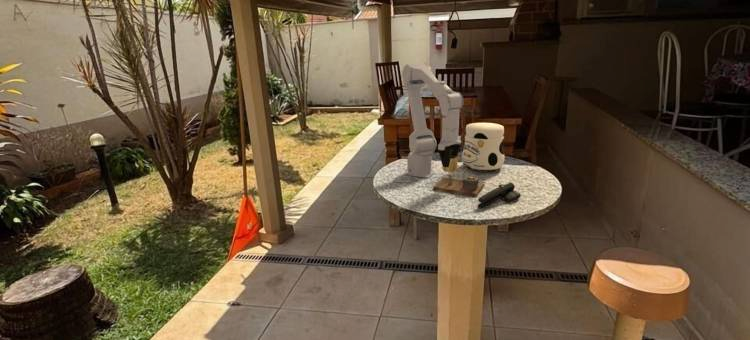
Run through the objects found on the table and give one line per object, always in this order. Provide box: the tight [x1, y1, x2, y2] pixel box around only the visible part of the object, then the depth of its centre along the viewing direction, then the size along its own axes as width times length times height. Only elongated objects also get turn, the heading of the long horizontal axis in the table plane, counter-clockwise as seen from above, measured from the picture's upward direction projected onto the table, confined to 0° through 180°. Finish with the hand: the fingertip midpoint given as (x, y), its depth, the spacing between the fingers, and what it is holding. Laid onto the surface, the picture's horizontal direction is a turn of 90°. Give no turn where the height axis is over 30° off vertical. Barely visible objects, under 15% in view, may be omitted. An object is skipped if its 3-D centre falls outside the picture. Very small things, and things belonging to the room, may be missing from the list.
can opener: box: [477, 182, 522, 209], centre depth 129 cm, size 18×7×6 cm, turn 121°
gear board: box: [432, 173, 485, 197], centre depth 142 cm, size 16×11×5 cm
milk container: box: [461, 122, 505, 172], centre depth 162 cm, size 17×17×18 cm
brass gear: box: [441, 155, 459, 173], centre depth 140 cm, size 5×5×5 cm
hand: (449, 164), depth 140 cm, fingers closed on brass gear, 5 cm apart
